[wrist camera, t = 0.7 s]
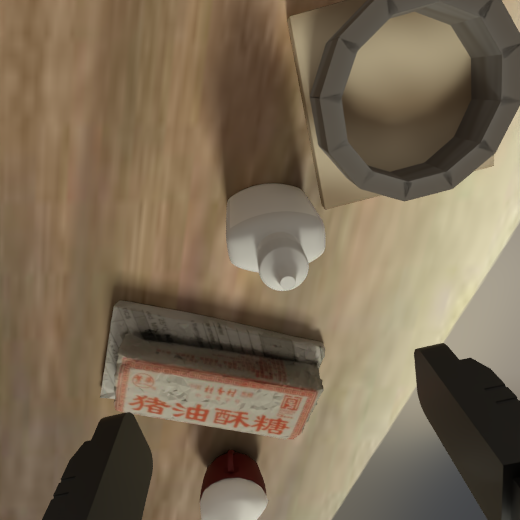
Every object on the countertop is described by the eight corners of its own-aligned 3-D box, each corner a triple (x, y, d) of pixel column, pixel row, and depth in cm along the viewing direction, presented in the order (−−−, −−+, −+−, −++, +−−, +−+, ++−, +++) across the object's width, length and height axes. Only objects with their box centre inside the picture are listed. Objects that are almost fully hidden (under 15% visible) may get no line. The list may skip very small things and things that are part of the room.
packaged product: (339, 375, 29) (298, 462, 33) (325, 337, 34) (290, 418, 38) (98, 329, 26) (83, 432, 30) (117, 294, 30) (102, 387, 34)
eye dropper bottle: (241, 163, 26) (247, 217, 16) (313, 192, 28) (366, 261, 17) (219, 219, 28) (211, 304, 17) (288, 244, 29) (322, 338, 18)
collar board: (287, 19, 23) (297, 6, 19) (483, -37, 23) (534, -62, 19) (321, 204, 28) (335, 223, 24) (483, 162, 28) (523, 175, 24)
